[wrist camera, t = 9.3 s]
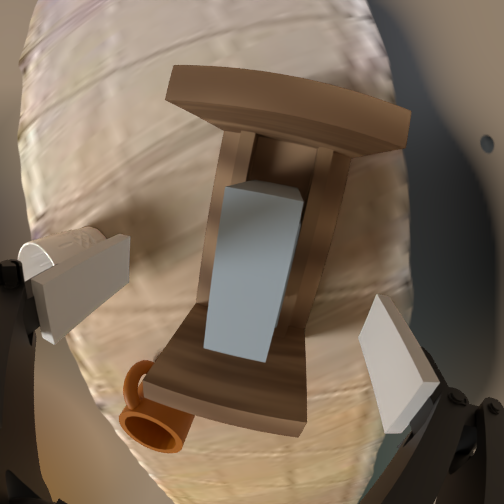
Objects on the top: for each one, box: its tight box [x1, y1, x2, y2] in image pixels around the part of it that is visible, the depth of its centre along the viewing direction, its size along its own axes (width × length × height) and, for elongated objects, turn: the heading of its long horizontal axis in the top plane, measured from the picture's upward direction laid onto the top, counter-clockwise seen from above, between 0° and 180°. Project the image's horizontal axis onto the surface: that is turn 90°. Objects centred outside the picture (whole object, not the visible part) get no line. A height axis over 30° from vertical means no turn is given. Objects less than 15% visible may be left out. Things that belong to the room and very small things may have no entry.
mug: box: [119, 360, 195, 453], centre depth 31 cm, size 9×12×9 cm
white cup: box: [18, 226, 106, 281], centre depth 27 cm, size 8×8×10 cm
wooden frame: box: [143, 65, 411, 437], centre depth 21 cm, size 22×12×14 cm, turn 169°
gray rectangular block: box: [204, 180, 304, 362], centre depth 21 cm, size 10×4×12 cm, turn 170°
